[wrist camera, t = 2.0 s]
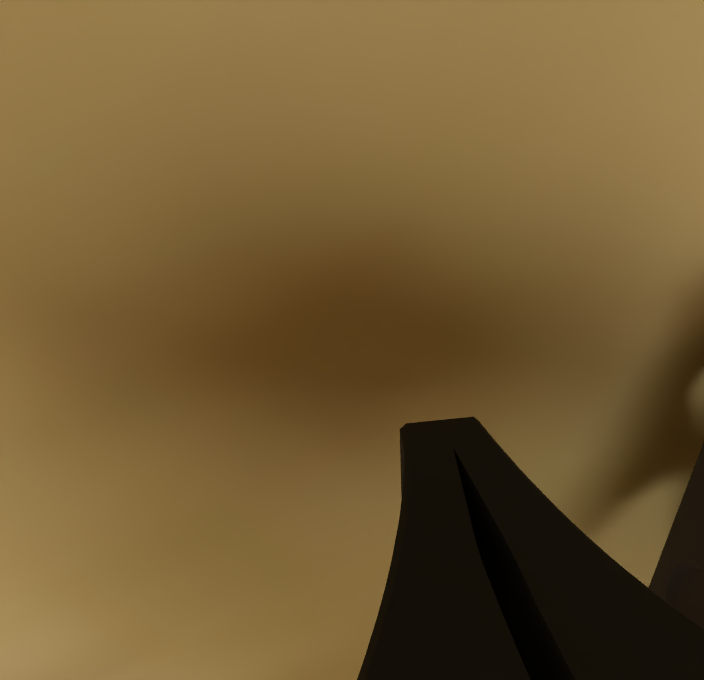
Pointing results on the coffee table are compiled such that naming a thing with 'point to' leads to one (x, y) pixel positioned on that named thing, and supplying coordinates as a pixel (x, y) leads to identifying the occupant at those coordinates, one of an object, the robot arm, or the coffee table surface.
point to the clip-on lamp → (685, 553)
